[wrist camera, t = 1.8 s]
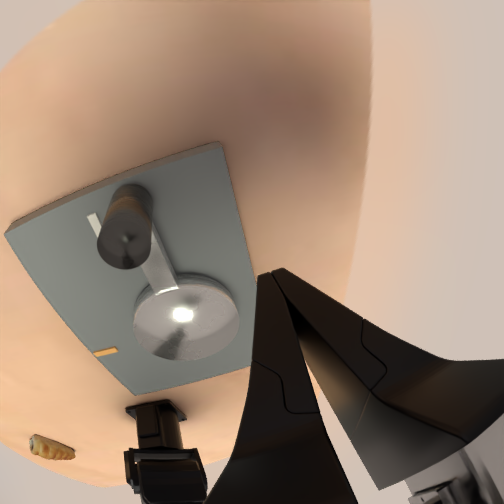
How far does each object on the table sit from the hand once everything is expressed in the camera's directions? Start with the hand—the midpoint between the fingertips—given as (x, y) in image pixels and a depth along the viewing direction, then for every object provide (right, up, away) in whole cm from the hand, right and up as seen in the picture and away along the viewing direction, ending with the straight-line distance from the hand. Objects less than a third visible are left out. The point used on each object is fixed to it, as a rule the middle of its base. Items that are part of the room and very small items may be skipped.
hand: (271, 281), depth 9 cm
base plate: (-8, -3, +14) cm, 17 cm away
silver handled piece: (-6, -1, +11) cm, 13 cm away
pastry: (-38, -34, +27) cm, 58 cm away
